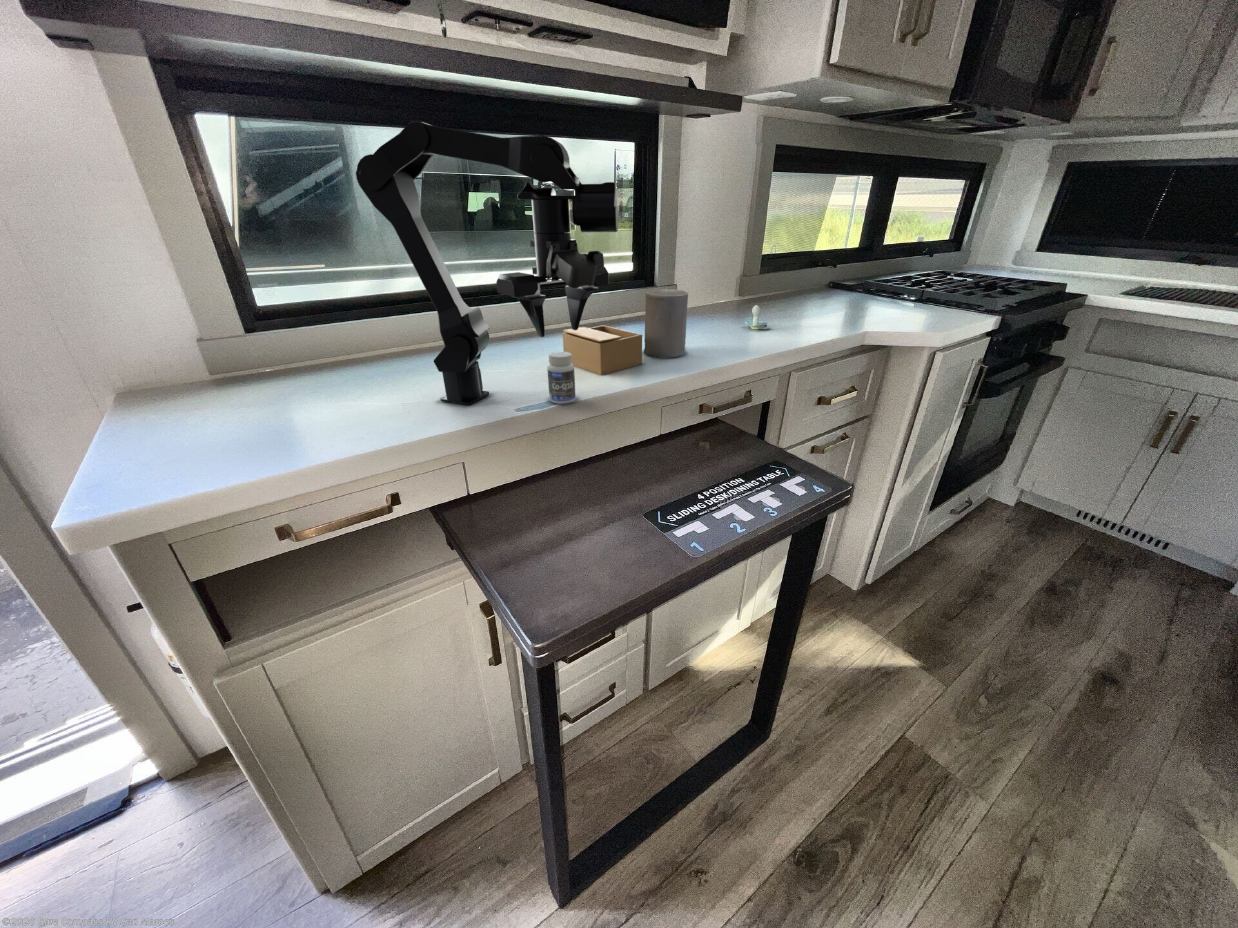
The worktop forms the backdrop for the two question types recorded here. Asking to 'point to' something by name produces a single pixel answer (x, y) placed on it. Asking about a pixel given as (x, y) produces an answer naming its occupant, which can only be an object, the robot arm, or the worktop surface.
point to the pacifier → (756, 320)
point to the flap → (592, 334)
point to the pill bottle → (561, 378)
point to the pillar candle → (665, 322)
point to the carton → (604, 350)
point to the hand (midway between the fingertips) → (558, 333)
